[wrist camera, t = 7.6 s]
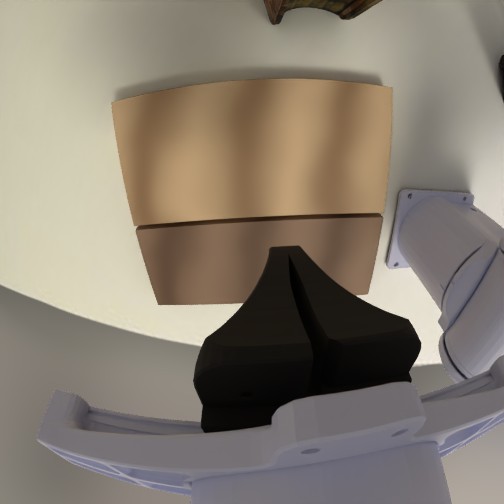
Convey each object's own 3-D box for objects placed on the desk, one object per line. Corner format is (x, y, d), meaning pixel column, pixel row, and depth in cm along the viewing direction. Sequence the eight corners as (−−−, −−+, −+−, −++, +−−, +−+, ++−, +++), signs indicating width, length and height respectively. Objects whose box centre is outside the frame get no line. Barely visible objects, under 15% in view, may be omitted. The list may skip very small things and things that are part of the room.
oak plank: (383, 87, 17) (392, 87, 15) (376, 205, 22) (383, 212, 20) (119, 101, 17) (111, 102, 16) (140, 218, 22) (134, 225, 21)
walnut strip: (375, 209, 22) (383, 217, 21) (362, 283, 26) (367, 294, 25) (141, 221, 23) (135, 230, 21) (162, 294, 27) (158, 304, 25)
